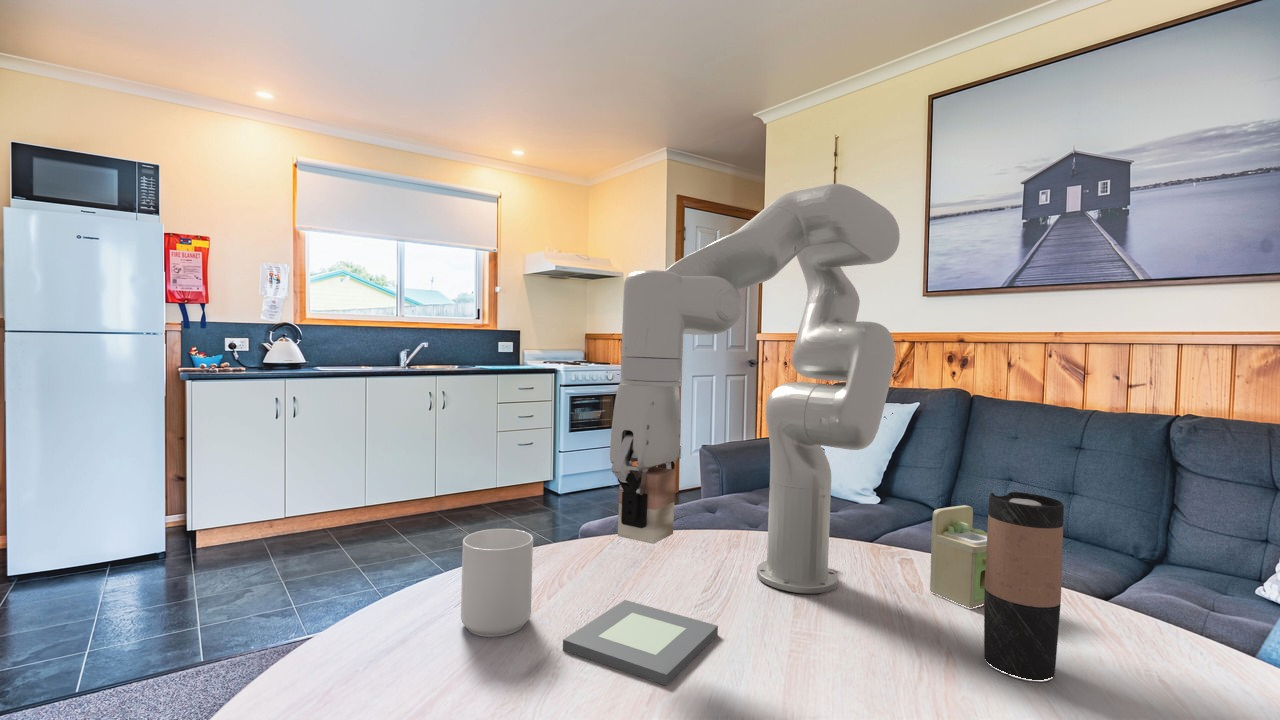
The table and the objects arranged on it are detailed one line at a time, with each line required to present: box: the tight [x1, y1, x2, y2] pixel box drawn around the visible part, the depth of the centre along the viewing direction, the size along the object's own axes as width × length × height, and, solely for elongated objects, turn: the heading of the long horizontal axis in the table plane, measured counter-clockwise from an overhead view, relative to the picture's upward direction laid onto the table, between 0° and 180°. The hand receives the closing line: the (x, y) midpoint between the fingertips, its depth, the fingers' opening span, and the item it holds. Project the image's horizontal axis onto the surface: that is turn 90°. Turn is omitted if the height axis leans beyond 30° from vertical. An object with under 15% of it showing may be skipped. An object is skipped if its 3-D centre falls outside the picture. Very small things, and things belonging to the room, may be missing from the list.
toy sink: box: [929, 504, 987, 608], centre depth 92 cm, size 9×7×13 cm
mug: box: [460, 528, 534, 638], centre depth 80 cm, size 12×9×11 cm
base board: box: [562, 599, 719, 686], centre depth 75 cm, size 14×14×1 cm
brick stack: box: [617, 466, 677, 545], centre depth 75 cm, size 5×5×8 cm
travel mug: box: [983, 491, 1065, 680], centre depth 72 cm, size 8×8×20 cm
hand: (645, 519), depth 75 cm, fingers closed on brick stack, 5 cm apart
